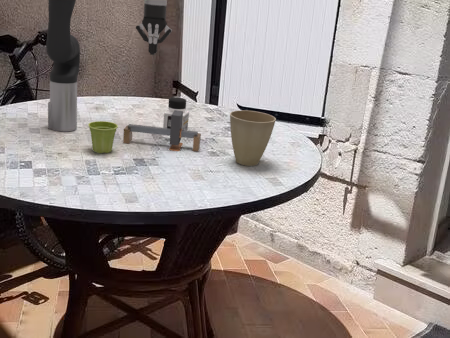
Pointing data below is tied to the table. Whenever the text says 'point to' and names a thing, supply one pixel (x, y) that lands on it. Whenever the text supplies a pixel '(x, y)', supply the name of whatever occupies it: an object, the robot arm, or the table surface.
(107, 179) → the table surface
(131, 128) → the rail
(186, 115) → the container
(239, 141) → the plant pot
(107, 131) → the plant pot
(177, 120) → the collar
